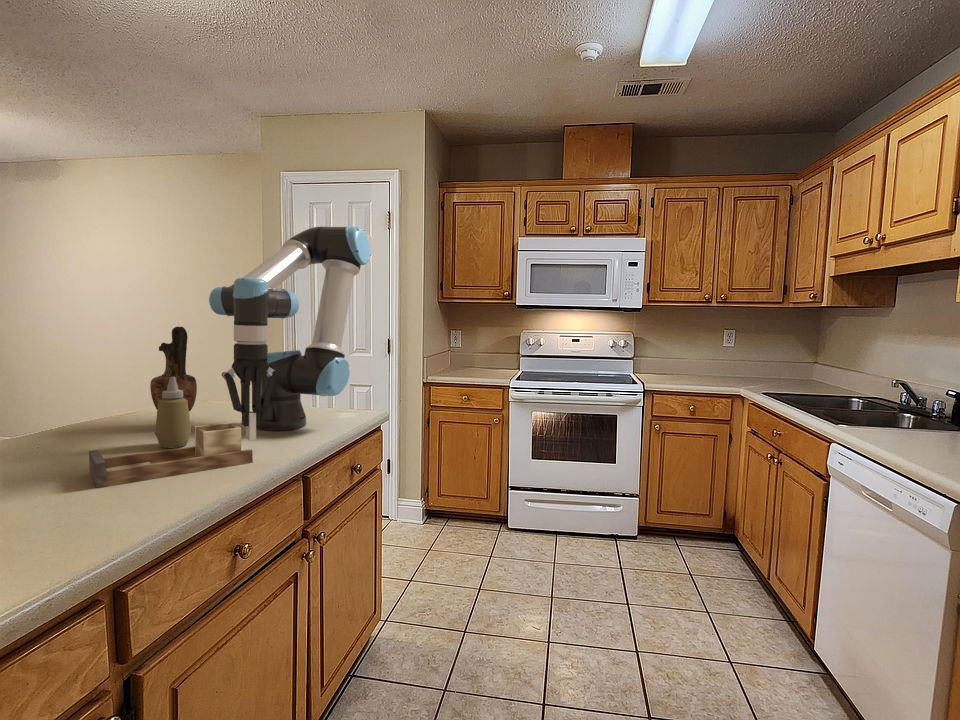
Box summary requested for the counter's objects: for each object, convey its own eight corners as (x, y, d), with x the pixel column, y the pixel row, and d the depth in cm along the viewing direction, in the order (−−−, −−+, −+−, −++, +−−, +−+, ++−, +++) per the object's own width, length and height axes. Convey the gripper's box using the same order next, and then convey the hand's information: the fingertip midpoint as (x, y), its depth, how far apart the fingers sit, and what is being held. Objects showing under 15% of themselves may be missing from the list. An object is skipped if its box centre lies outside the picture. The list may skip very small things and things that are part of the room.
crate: (231, 450, 129) (230, 422, 128) (241, 457, 124) (241, 428, 123) (195, 455, 124) (194, 426, 123) (204, 462, 118) (204, 432, 118)
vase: (185, 421, 162) (184, 324, 159) (206, 428, 155) (205, 326, 152) (144, 427, 153) (141, 324, 150) (163, 434, 145) (161, 327, 143)
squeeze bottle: (175, 451, 130) (173, 380, 129) (147, 448, 132) (145, 377, 130) (198, 443, 138) (197, 376, 136) (172, 440, 140) (171, 374, 138)
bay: (237, 452, 132) (237, 432, 131) (252, 462, 124) (252, 441, 123) (89, 473, 112) (89, 451, 111) (96, 488, 104) (96, 463, 103)
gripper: (271, 341, 133) (271, 432, 136) (217, 342, 124) (217, 439, 127) (283, 343, 128) (283, 438, 130) (227, 344, 119) (227, 445, 121)
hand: (250, 438), depth 128 cm, fingers closed
